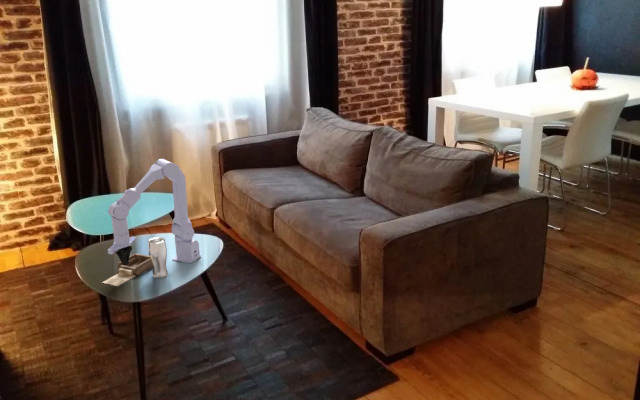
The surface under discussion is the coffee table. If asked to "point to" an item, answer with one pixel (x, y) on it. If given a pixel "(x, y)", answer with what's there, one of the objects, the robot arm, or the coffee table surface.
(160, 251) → the beer glass
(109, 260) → the coffee table surface
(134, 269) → the box
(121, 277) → the lid
